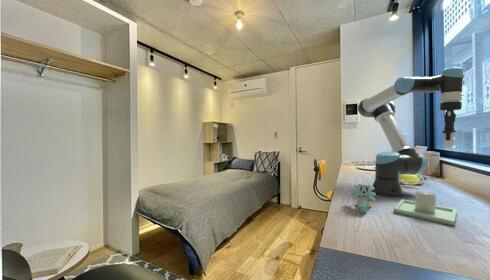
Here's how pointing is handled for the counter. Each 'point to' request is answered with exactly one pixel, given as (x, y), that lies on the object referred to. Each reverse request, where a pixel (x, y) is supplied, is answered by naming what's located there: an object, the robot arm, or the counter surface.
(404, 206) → the tray
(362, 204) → the toy
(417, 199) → the cream rounded capsule
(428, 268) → the counter surface
